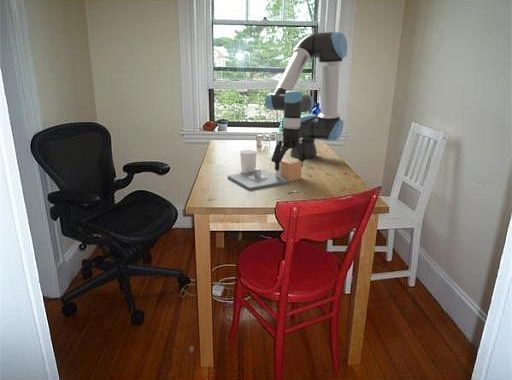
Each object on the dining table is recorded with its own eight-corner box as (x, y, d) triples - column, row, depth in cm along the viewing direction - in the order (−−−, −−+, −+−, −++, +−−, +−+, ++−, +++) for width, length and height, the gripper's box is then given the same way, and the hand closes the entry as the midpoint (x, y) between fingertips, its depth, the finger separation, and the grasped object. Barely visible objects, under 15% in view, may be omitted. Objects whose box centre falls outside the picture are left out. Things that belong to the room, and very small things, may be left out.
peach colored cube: (291, 175, 170) (292, 157, 168) (300, 178, 165) (301, 161, 162) (279, 177, 167) (280, 159, 164) (288, 181, 161) (289, 162, 158)
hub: (264, 172, 175) (264, 161, 173) (289, 183, 158) (289, 171, 157) (227, 178, 165) (227, 167, 163) (249, 190, 149) (249, 178, 147)
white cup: (242, 174, 171) (242, 153, 167) (238, 170, 178) (238, 150, 175) (258, 173, 173) (258, 152, 169) (254, 169, 180) (254, 149, 177)
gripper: (307, 125, 167) (303, 171, 174) (264, 127, 155) (262, 176, 162) (317, 127, 161) (313, 174, 168) (274, 129, 149) (271, 180, 156)
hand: (288, 175), depth 165 cm, fingers open, 11 cm apart
